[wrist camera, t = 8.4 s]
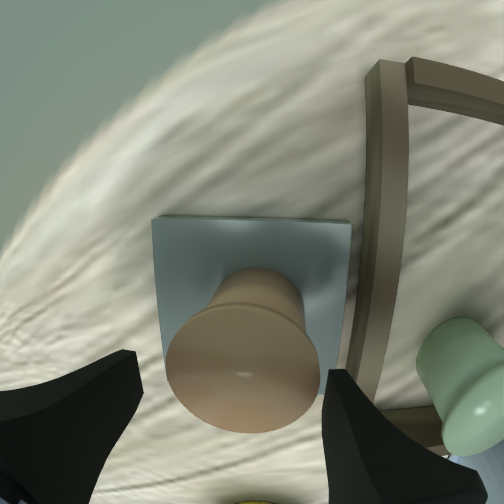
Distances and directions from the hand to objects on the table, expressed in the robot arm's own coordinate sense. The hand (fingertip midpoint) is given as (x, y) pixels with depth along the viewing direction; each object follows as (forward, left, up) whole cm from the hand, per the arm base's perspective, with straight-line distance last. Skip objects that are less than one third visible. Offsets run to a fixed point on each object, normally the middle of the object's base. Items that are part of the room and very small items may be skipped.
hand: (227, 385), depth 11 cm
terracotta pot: (0, 0, -6) cm, 6 cm away
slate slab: (0, 0, -7) cm, 7 cm away
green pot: (-3, -13, -7) cm, 15 cm away
